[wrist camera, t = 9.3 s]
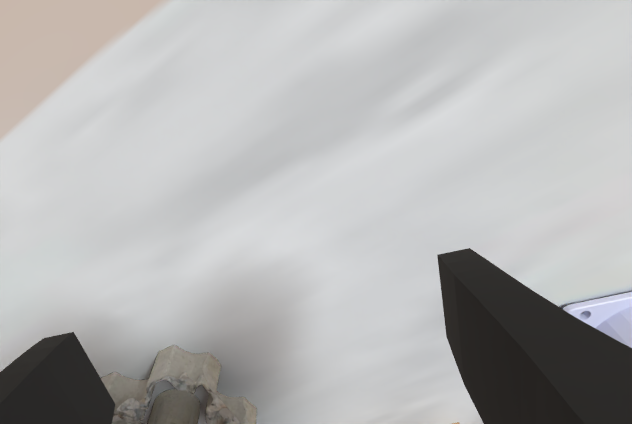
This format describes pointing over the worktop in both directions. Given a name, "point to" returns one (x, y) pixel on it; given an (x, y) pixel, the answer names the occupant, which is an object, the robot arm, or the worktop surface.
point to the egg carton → (177, 393)
